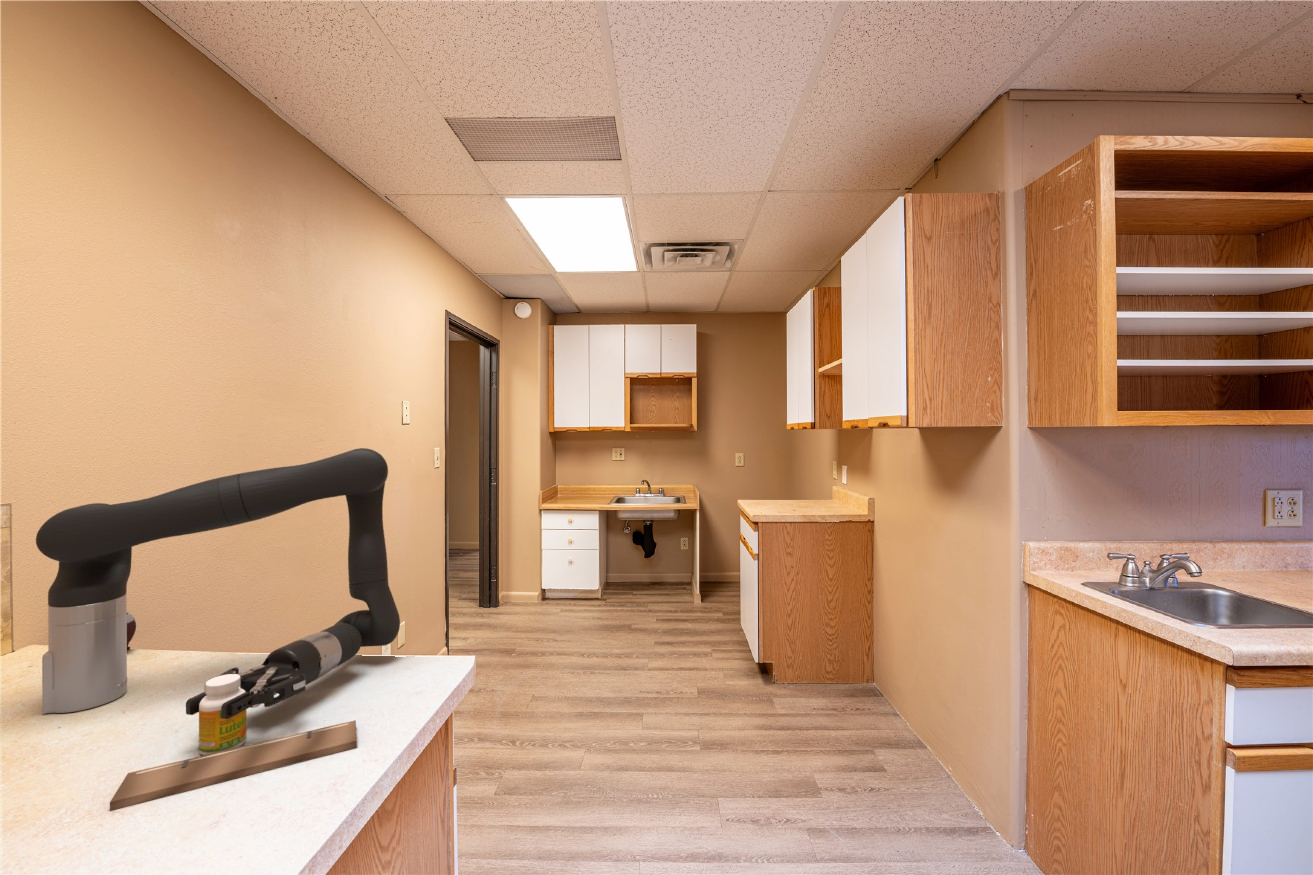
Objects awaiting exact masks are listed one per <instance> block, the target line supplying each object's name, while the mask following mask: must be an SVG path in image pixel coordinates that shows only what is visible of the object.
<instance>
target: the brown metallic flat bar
mask: <svg viewBox="0 0 1313 875" xmlns="http://www.w3.org/2000/svg"><path fill="white" fill-rule="evenodd" d="M356 721H357V720H356V719H355V720H351V721H347V722H343V723H342V722H341V723H337V724H333V725H329V726H325V727H321V728H317V729H312V730H308V731H303V732H300V733H294V734H290V735H286V736H281V737H277V738H274V739H269V740H265V741H260V742H256V743H251V744H247V745H241V746H240V747H238V748H234V749H230V750H225V751H221V752H217V753H212V754H208V755H200V756H195V757H192V758H187V759H183V760H179V761H175V762H170V763H166V764H162V765H158V766H153V767H148V768H144V769H139V770H136V771H131V772H127V774H126V775H125V777H124V779H122V780H123V781H122V782H121V784H120V785H119V786H118V788H117V790H116V791H115V793H114V795H113V796H112V798H111V800H110V801H109V811H114V810H117V809H121V808H122V809H123V808H125V807H130V806H133V805H136V804H140V803H145V802H149V801H152V800H156V799H157V800H158V799H161V798H164V797H167V796H168V797H169V796H172V795H173V796H174V795H176V794H180V793H184V792H188V791H192V790H196V789H200V788H203V787H208V786H211V785H216V784H219V783H223V782H227V781H231V780H235V779H240V778H243V777H247V776H251V775H254V774H258V773H262V772H266V771H270V770H274V769H275V770H276V769H278V768H283V767H286V766H290V765H294V764H298V763H301V762H305V761H309V760H313V759H317V758H322V757H325V756H328V755H329V756H330V755H333V754H337V753H341V752H345V751H348V750H352V749H355V748H357V747H358V742H357V741H358V739H357V738H358V736H357V722H356Z"/></svg>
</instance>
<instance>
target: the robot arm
mask: <svg viewBox="0 0 1313 875" xmlns="http://www.w3.org/2000/svg"><path fill="white" fill-rule="evenodd" d="M388 468H389V466H388V462H387V460H386V459H385V458H384V456H383V455H382V454H381V453H379V452H377V451H376V450H374V449H372V448H371V449H370V448H366V447H364V448H362V447H361V448H360V447H359V448H355V449H351V450H348V451H345V452H342V453H339V454H336V455H333V456H329V457H326V458H322V459H319V460H315V461H312V462H307V463H303V464H296V465H290V466H280V467H279V466H278V467H273V468H265V469H258V470H253V471H247V472H241V473H236V474H231V475H226V476H221V477H216V478H212V479H208V480H205V481H201V482H196V483H193V484H189V485H186V486H183V487H180V488H176V489H174V490H170V491H167V492H164V493H161V494H158V495H155V496H151V497H147V498H143V499H138V500H134V501H133V500H132V501H126V502H125V501H124V502H120V503H112V504H109V503H101V502H97V503H95V502H94V503H88V504H82V505H79V506H75V507H71V508H67V509H64V510H61V511H60V512H57V513H56V514H54V515H52V516H51V517H50V518H48V519H46V521H45V522H44V523H43V524H42V525H41V526H40V527H39V530H38V531H37V533H36V537H35V544H36V547H37V549H38V551H39V552H41V554H43V555H44V556H45V557H47V558H49V559H51V560H53V561H56V562H58V570H57V573H56V576H55V578H54V580H53V582H52V584H51V586H50V587H49V589H48V592H47V626H48V627H47V631H48V632H47V634H48V636H47V637H48V638H47V642H48V643H47V644H48V646H47V648H48V650H47V651H46V652H45V653H44V654H42V657H41V659H42V660H41V669H42V670H41V671H42V673H41V676H42V677H41V678H42V680H41V681H42V682H41V683H42V684H41V685H42V691H41V693H42V694H41V696H42V699H41V700H42V701H41V702H42V705H41V707H42V708H41V709H42V710H41V711H42V715H44V714H51V713H53V714H56V713H57V714H62V713H64V714H65V713H72V712H80V711H83V710H87V709H92V708H96V707H99V706H102V705H105V704H108V703H111V702H112V701H115V700H117V699H119V698H120V697H122V696H124V695H125V694H126V693H127V691H128V665H127V664H128V659H127V658H128V655H127V654H128V650H127V609H128V608H127V607H128V606H127V603H128V602H127V601H128V600H127V585H128V581H129V578H130V576H131V575H130V574H131V571H132V553H133V552H132V551H133V547H135V546H139V545H142V544H145V543H149V542H152V541H157V540H162V539H167V538H173V537H174V538H175V537H179V536H185V535H192V534H197V533H204V532H209V531H214V530H218V529H223V528H229V527H234V526H238V525H242V524H247V523H249V522H255V521H258V520H261V519H265V518H268V517H271V516H275V515H277V514H280V513H284V512H286V511H288V510H292V509H293V508H297V507H299V506H302V505H305V504H307V503H311V502H314V501H319V500H324V499H330V498H335V497H337V498H338V497H342V496H345V498H346V499H345V500H346V503H347V504H346V505H347V510H348V524H349V525H348V529H349V530H348V544H347V545H348V546H347V547H348V548H347V549H348V550H347V563H348V564H347V570H348V573H347V574H348V588H349V589H348V591H349V595H350V597H351V598H352V599H354V600H358V601H363V602H364V603H365V604H366V605H367V608H368V609H359V610H356V611H353V612H351V613H347V614H346V615H344V616H343V617H342V618H340V619H339V620H338V621H337V622H335V624H334V625H332V626H330V627H328V628H325V629H323V630H321V631H319V632H315V633H312V634H308V635H306V636H304V637H301V638H299V639H297V640H295V641H292V642H290V643H288V644H286V645H283V646H282V647H279V648H277V649H275V650H273V651H271V652H270V653H269V654H268V655H267V656H266V657H265V660H264V661H263V663H261V664H260V665H257V666H254V667H251V668H250V669H248V670H246V671H243V672H242V671H241V672H239V669H240V667H237V666H236V667H232V668H229V669H228V670H226V671H224V672H223V673H220V674H219V675H217V676H216V677H218V676H221V675H227V674H238V675H240V682H241V683H240V687H239V688H241V689H243V690H245V693H243V694H241V695H239V696H237V697H235V698H233V699H231V700H229V701H227V702H225V703H223V705H222V707H221V718H222V719H229V718H231V717H233V716H235V715H237V714H239V713H240V712H242V711H244V710H246V711H247V710H248V709H250V708H252V709H254V708H255V709H256V708H258V707H259V706H261V705H262V704H263V706H264V707H265V708H267V707H272V706H275V705H277V704H278V703H281V702H284V701H286V700H288V699H290V698H292V697H295V696H296V695H299V694H301V693H303V692H305V691H306V686H307V685H309V684H311V683H313V682H315V681H317V680H318V679H320V678H322V677H323V676H325V675H327V674H328V673H329V672H331V671H332V670H334V669H335V668H337V667H339V666H340V665H343V664H344V663H346V662H348V661H350V660H351V659H353V657H355V656H356V655H357V654H358V653H359V651H360V649H361V647H362V648H364V647H366V648H367V647H383V646H387V645H390V644H391V643H392V642H394V641H395V639H396V638H397V637H398V633H399V631H400V627H401V620H400V619H401V618H400V614H399V611H398V607H397V605H396V602H395V600H394V599H395V598H394V597H393V593H392V591H391V588H390V585H389V571H388V556H387V554H388V553H387V546H386V539H385V531H384V519H383V517H384V516H383V515H384V514H383V511H384V510H383V504H384V503H383V502H384V493H385V486H386V481H387V479H388V475H389V469H388ZM205 684H206V682H205V683H204V685H205ZM277 694H278V695H277ZM276 695H277V696H276ZM205 696H207V694H206V693H205V691H203V692H201V693H198V694H197V695H194V696H192V697H190V698H188V699H187V700H186V701H185V714H186V715H188V716H193V715H194V716H195V714H197V713H198V714H199V704H200V702H201V700H202V699H203V698H204V697H205Z"/></svg>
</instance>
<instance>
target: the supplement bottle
mask: <svg viewBox="0 0 1313 875" xmlns="http://www.w3.org/2000/svg"><path fill="white" fill-rule="evenodd" d="M217 676H218V677H217ZM217 676H215V677H213V678H211V679H208V680H207V681H206V682H205V683H206V684H205V683H204V692H205V693H206V694H207V696H205V697H204V698H203V699H202V700H201V702H200V704H199V712H198V751H199V754H200V756H204V755H208V754H212V753H217V752H221V751H225V750H230V749H234V748H238V747H242V746H243V744H244V743H245V742H246V740H247V709H246V710H244V711H242V712H240V713H239V714H237V715H235V716H233V717H231V718H229V719H222V718H221V707H222V705H223V703H225V702H227V701H229V700H231V699H233V698H235V697H237V696H239V695H241V694H243V693H245V690H243V689H241V688H240V683H241V682H240V675H238V674H227V675H221V676H219V675H217Z"/></svg>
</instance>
